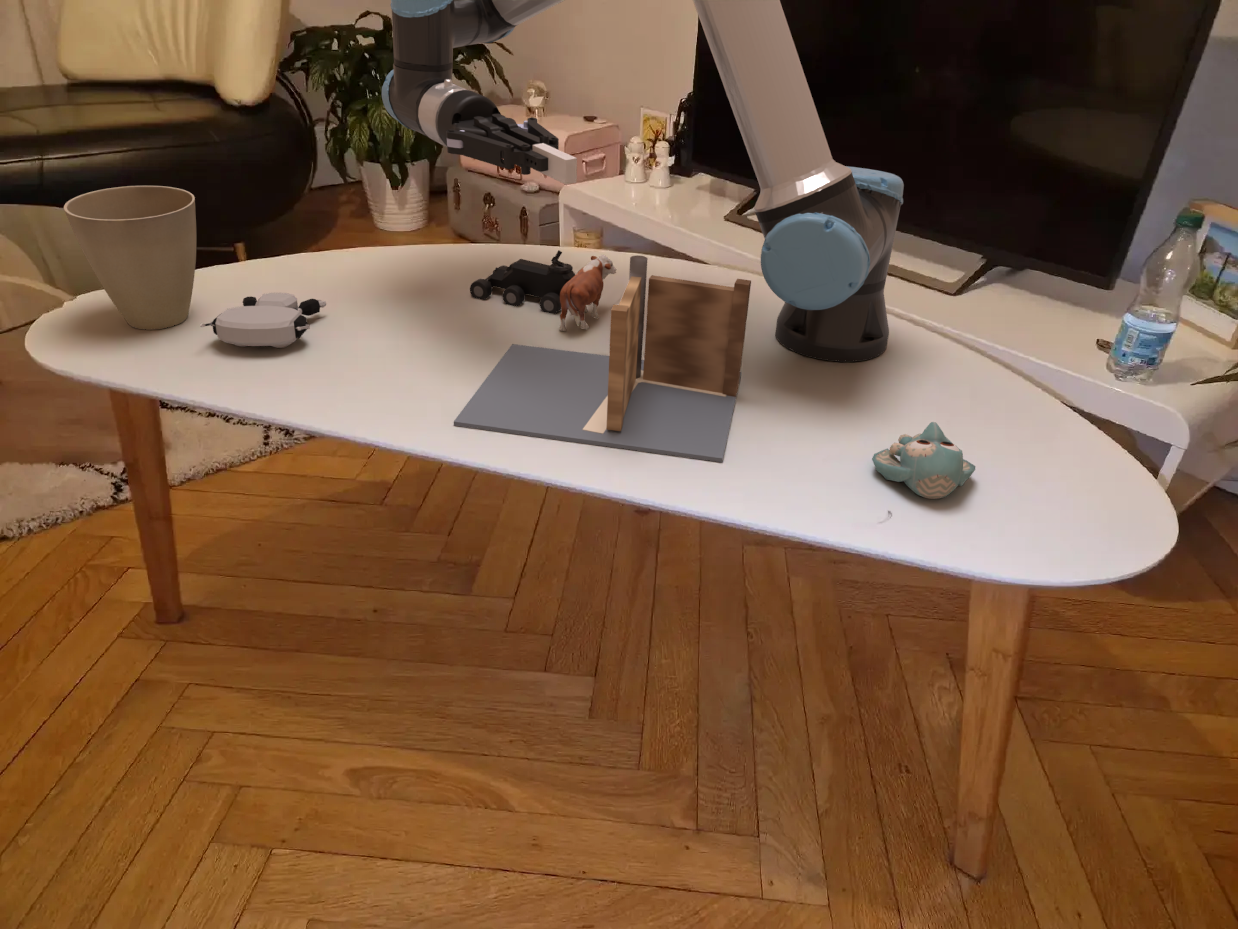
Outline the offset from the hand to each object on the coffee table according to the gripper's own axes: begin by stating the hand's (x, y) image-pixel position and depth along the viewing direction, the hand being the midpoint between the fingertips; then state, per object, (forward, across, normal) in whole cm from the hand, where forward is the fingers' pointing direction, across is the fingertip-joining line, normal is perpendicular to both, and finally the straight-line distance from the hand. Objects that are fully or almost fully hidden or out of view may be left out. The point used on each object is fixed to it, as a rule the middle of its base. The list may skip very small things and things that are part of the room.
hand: (571, 171), depth 103 cm
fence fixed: (+12, +8, +25) cm, 29 cm away
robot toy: (-30, -26, +26) cm, 48 cm away
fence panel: (+12, -1, +23) cm, 26 cm away
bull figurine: (-12, +12, +26) cm, 31 cm away
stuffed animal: (+42, +16, +24) cm, 50 cm away
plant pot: (-43, -37, +26) cm, 62 cm away
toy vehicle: (-24, +10, +27) cm, 37 cm away
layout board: (+9, -1, +24) cm, 26 cm away
